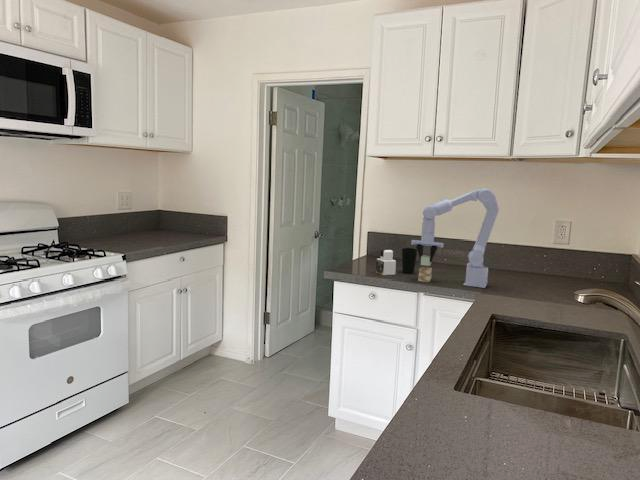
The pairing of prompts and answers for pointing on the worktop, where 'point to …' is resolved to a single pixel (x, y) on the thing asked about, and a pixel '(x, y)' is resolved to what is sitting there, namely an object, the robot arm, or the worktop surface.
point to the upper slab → (425, 271)
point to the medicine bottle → (386, 263)
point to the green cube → (425, 260)
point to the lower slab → (424, 278)
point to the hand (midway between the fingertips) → (426, 261)
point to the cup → (408, 260)
